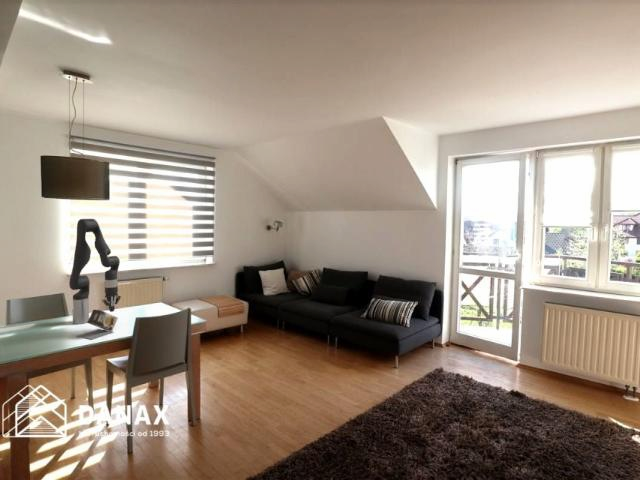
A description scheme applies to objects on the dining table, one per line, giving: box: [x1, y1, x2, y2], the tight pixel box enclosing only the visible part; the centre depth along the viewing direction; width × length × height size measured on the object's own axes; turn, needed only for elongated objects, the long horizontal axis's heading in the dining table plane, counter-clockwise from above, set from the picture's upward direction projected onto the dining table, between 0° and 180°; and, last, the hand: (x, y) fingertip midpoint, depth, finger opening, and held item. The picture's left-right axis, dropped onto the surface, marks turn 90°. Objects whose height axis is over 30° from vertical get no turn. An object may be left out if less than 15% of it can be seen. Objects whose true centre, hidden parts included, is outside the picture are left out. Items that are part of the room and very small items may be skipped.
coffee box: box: [86, 309, 119, 332], centre depth 231 cm, size 9×6×16 cm
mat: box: [76, 328, 115, 341], centre depth 227 cm, size 14×15×1 cm
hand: (111, 311), depth 238 cm, fingers closed
